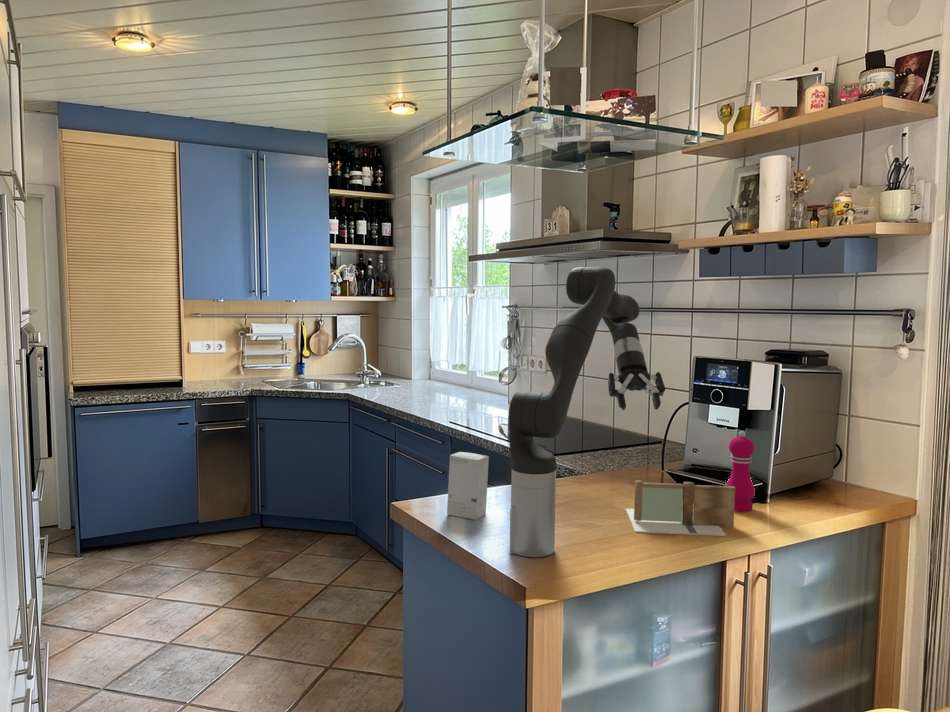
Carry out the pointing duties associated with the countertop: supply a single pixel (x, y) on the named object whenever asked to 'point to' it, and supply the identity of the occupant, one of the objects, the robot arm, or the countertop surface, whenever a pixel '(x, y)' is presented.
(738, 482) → the pepper mill
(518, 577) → the countertop surface
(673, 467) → the countertop surface
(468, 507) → the skincare box
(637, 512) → the swing panel
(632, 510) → the card
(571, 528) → the countertop surface
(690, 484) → the fixed fence
